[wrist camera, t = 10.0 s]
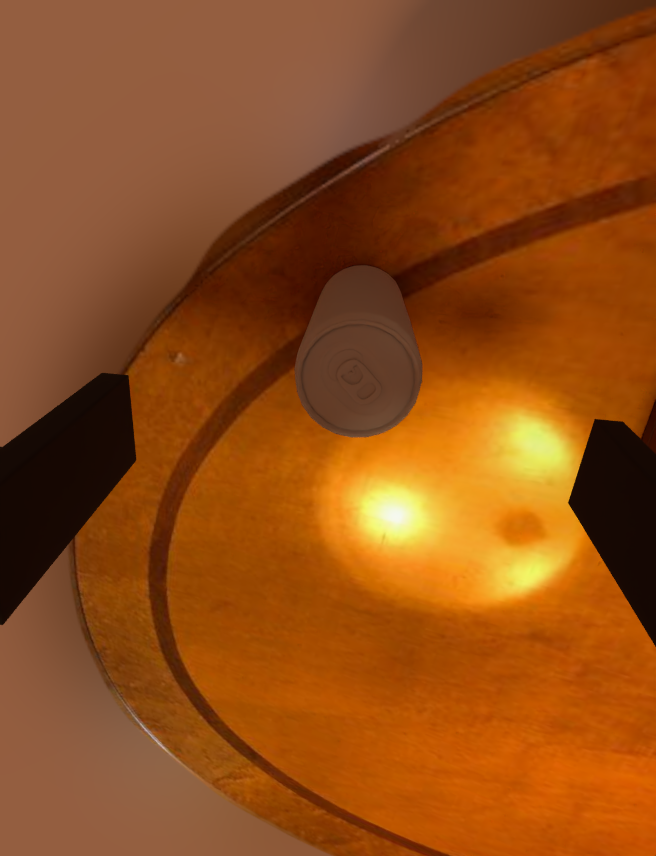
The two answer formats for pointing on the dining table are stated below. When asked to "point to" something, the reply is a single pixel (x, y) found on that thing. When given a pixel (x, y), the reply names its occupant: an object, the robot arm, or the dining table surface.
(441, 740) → the dining table surface
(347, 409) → the beverage can
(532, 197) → the dining table surface
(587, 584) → the dining table surface
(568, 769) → the dining table surface
